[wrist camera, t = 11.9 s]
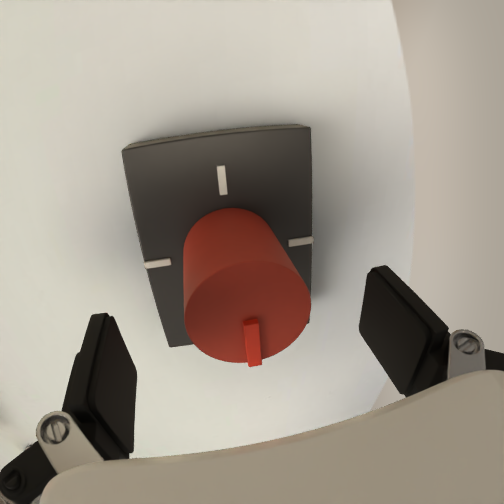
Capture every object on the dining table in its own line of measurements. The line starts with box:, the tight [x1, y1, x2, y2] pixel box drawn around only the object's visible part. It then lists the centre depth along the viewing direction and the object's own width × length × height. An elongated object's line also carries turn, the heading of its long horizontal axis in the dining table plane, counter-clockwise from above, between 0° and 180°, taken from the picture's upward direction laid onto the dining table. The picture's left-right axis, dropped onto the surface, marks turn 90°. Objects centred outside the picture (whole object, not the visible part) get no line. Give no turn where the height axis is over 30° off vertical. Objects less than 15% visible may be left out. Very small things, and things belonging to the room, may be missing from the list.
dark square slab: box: [122, 124, 314, 347], centre depth 17 cm, size 12×9×2 cm
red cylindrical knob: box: [183, 208, 311, 367], centre depth 14 cm, size 5×5×6 cm
